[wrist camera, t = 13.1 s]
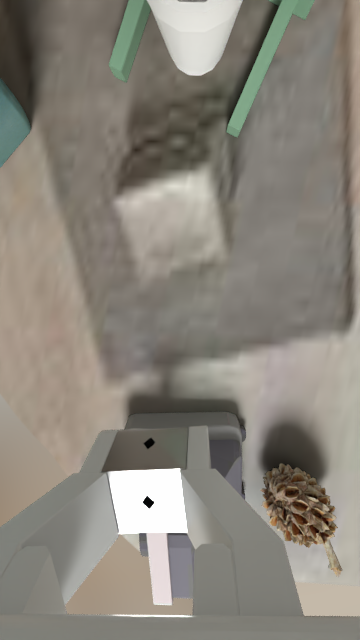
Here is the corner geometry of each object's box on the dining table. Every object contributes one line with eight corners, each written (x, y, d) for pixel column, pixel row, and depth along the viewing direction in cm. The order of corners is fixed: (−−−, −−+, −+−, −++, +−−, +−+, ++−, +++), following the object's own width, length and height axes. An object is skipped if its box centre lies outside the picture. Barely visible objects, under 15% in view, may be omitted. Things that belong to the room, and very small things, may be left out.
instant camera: (128, 397, 47) (98, 470, 33) (260, 415, 47) (287, 496, 32) (121, 503, 53) (92, 603, 39) (237, 519, 53) (252, 627, 38)
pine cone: (239, 463, 49) (249, 518, 40) (291, 435, 47) (315, 486, 38) (307, 549, 53) (331, 618, 44) (358, 527, 51) (394, 594, 42)
